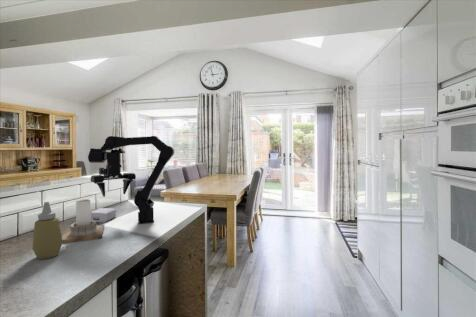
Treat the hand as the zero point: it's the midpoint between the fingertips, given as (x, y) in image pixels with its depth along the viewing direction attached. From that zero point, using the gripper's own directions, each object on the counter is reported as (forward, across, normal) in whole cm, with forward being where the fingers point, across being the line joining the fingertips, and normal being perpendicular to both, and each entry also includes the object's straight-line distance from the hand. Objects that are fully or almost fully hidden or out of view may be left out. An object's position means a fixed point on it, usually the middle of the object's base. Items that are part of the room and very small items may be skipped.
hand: (114, 195), depth 121 cm
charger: (+14, 0, -12) cm, 18 cm away
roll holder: (+13, +15, +9) cm, 22 cm away
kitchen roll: (+12, +15, +9) cm, 21 cm away
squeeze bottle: (+13, +30, +22) cm, 39 cm away
